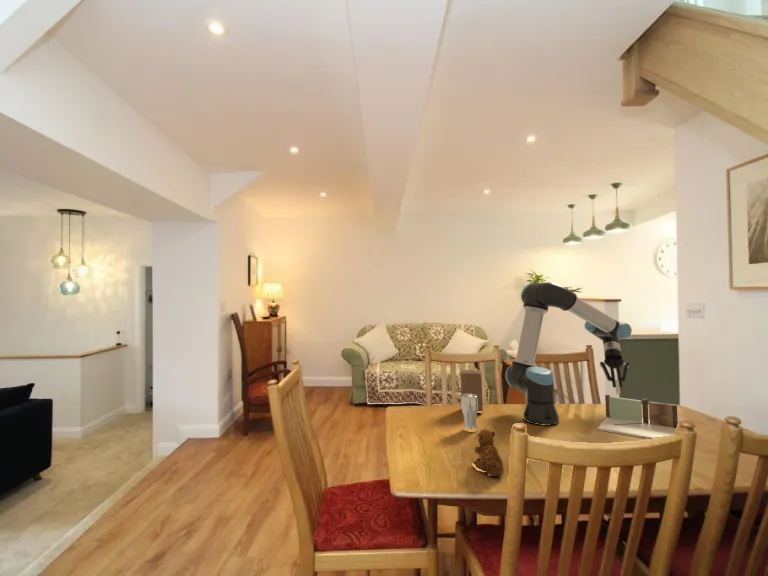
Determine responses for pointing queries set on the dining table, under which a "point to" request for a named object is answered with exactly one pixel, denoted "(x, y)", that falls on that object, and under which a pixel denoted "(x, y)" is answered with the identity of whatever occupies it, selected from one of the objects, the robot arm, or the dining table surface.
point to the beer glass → (469, 410)
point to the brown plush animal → (488, 454)
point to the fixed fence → (660, 414)
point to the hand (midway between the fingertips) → (618, 393)
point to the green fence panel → (623, 408)
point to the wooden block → (472, 385)
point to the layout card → (635, 428)
